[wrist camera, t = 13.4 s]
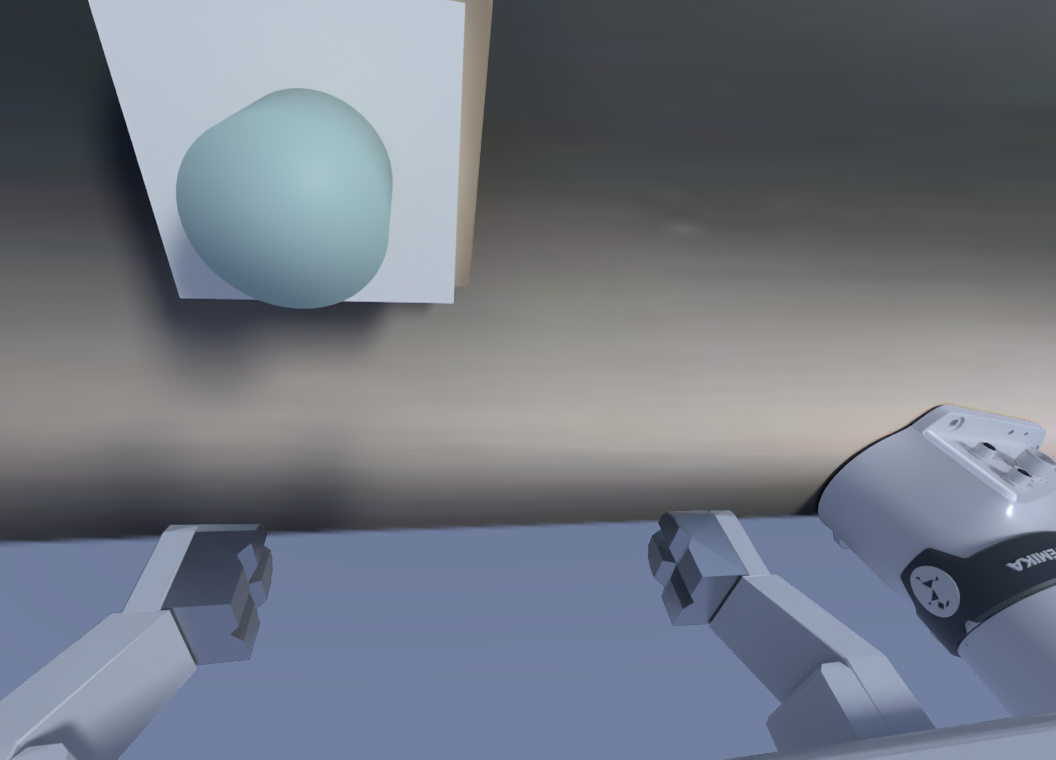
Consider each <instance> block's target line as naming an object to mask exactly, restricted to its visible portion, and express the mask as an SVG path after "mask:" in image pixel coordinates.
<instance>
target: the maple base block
mask: <svg viewBox="0 0 1056 760" xmlns="http://www.w3.org/2000/svg"><path fill="white" fill-rule="evenodd" d="M450 1H456V2H463V3H465V24H464V49H463V75H462V100H461V126H460V152H459V177H458V203H457V228H456V254H455V279H454V287H469V279H470V267H471V256H472V244H473V232H474V220H475V208H476V196H477V184H478V172H479V161H480V149H481V137H482V125H483V113H484V101H485V89H486V77H487V65H488V54H489V42H490V30H491V18H492V6H493V0H450Z"/></svg>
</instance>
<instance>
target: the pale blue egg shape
mask: <svg viewBox="0 0 1056 760" xmlns="http://www.w3.org/2000/svg"><path fill="white" fill-rule="evenodd" d="M392 187H393V176H392V168H391V162H390V159H389V156H388V153H387V150H386V148H385V146H384V144H383V142H382V140H381V138H380V137H379V135H378V133H377V132H376V130H375V129H374V128H373V127H372V125H371V124H370V123H369V122H368V121H367V120H366V119H365V117H364V116H363V115H362V114H360V113H359V112H358V111H357V110H356V109H354V108H353V107H352V106H350V105H349V104H347V103H346V102H344V101H342V100H340V99H338V98H336V97H335V96H333V95H330V94H327V93H324V92H321V91H317V90H313V89H305V88H289V89H283V90H278V91H275V92H272V93H270V94H267V95H265V96H264V97H262V98H260V99H259V100H257V101H255V102H253V103H252V104H250V105H248V106H247V107H245V108H243V109H242V110H240V111H238V112H236V113H235V114H233V115H231V116H230V117H228V118H226V119H225V120H223V121H221V122H219V123H218V124H216V125H214V126H213V127H211V128H209V129H208V130H206V131H205V132H204V133H203V134H202V135H200V136H199V137H198V138H197V139H196V140H195V141H194V143H193V144H192V145H191V146H190V148H189V149H188V151H187V152H186V154H185V156H184V158H183V160H182V162H181V165H180V168H179V171H178V176H177V182H176V202H177V208H178V213H179V217H180V220H181V223H182V226H183V229H184V231H185V233H186V235H187V237H188V239H189V241H190V243H191V244H192V246H193V248H194V249H195V251H196V252H197V253H198V255H199V256H200V257H201V259H202V260H203V261H204V262H205V263H206V264H207V265H208V266H209V267H210V269H211V270H212V271H213V272H215V273H216V274H217V275H218V276H219V277H220V278H222V279H223V280H224V281H225V282H227V283H228V284H230V285H231V286H233V287H234V288H235V289H237V290H239V291H241V292H243V293H244V294H246V295H248V296H250V297H253V298H255V299H257V300H260V301H263V302H266V303H269V304H272V305H276V306H281V307H286V308H296V309H312V308H321V307H326V306H330V305H334V304H336V303H339V302H342V301H344V300H346V299H348V298H350V297H352V296H354V295H355V294H357V293H358V292H359V291H361V290H362V289H363V288H364V287H365V286H366V285H367V284H368V283H369V282H370V281H371V280H372V279H373V278H374V276H375V275H376V274H377V272H378V270H379V268H380V267H381V265H382V263H383V260H384V258H385V255H386V251H387V247H388V241H389V228H390V214H391V201H392Z"/></svg>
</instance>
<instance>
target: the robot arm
mask: <svg viewBox="0 0 1056 760" xmlns="http://www.w3.org/2000/svg"><path fill="white" fill-rule="evenodd" d="M1045 434H1046V430H1045V429H1043V428H1042V427H1041V426H1040V425H1039V424H1037V423H1034V422H1029V421H1025V420H1020V419H1015V418H1010V417H1005V416H1000V415H995V414H990V413H985V412H980V411H975V410H970V409H965V408H960V407H955V406H950V405H943V406H940V407H938V408H936V409H934V410H933V411H931V412H929V413H928V414H926V415H925V416H924V417H922V418H921V419H919V420H918V421H917V422H915V423H914V424H913V425H911V426H910V427H908V428H906V429H904V430H902V431H901V432H898V433H896V434H894V435H892V436H890V437H888V438H886V439H884V440H882V441H880V442H878V443H876V444H875V445H873V446H871V447H870V448H868V449H867V450H865V451H864V452H862V453H861V454H859V455H858V456H857V457H855V458H854V459H853V460H852V461H850V462H849V463H848V464H847V465H846V466H845V467H844V468H843V469H842V470H841V471H840V472H839V473H838V474H837V475H836V476H835V477H834V478H833V479H832V481H831V482H830V483H829V484H828V486H827V487H826V489H825V491H824V492H823V494H822V496H821V499H820V502H819V506H818V514H819V518H820V520H821V521H822V522H823V523H824V524H825V525H826V526H828V527H829V528H830V529H831V530H833V536H834V539H835V541H836V542H837V543H838V544H839V545H840V546H841V547H842V548H844V549H848V548H850V549H851V550H852V551H853V552H854V553H855V554H856V555H857V556H858V557H859V558H860V559H861V560H862V561H863V562H864V563H865V564H866V565H867V566H868V567H869V568H870V569H871V570H872V571H873V572H874V573H875V574H876V575H877V577H878V578H880V580H882V581H883V583H884V584H885V585H887V587H889V589H890V590H891V591H893V592H894V593H895V594H896V595H897V596H898V597H899V598H900V599H901V600H902V601H904V602H906V603H909V604H914V605H915V607H916V613H917V615H918V617H919V618H920V619H921V620H922V621H923V623H924V624H925V625H926V626H927V627H928V628H929V629H930V631H931V632H930V633H931V634H932V635H933V636H934V637H935V638H936V640H937V641H939V642H940V643H942V644H943V645H944V646H945V648H946V649H947V650H948V651H949V652H950V653H951V654H952V655H954V656H957V657H961V658H962V659H963V660H964V661H965V662H966V664H968V666H969V667H970V668H971V669H972V671H973V672H974V673H975V674H976V675H977V676H978V677H979V679H980V680H981V681H982V682H983V683H984V685H985V686H986V687H987V688H988V689H989V690H990V692H991V693H992V694H993V695H994V696H995V697H996V698H997V700H998V701H999V702H1000V703H1001V704H1002V705H1003V707H1004V708H1005V709H1006V710H1007V711H1008V712H1009V714H1010V715H1011V716H1012V717H1013V718H1006V719H999V720H992V721H985V722H978V723H971V724H965V725H958V726H951V727H944V728H937V729H936V728H935V726H934V725H933V724H932V722H931V721H930V719H929V718H928V716H927V715H926V714H925V712H924V711H923V709H922V708H921V706H920V705H919V704H918V702H917V701H916V699H915V698H914V696H913V695H912V693H911V692H910V691H909V689H908V688H907V686H906V685H905V684H904V682H903V681H902V679H901V678H900V676H899V675H898V673H897V672H896V671H895V669H894V668H893V666H892V665H891V663H890V662H889V661H888V659H887V658H886V656H885V655H884V654H882V653H881V652H880V651H878V650H877V649H876V648H874V647H873V646H872V645H870V644H869V643H868V642H866V641H865V640H864V639H862V638H861V637H859V636H858V635H857V634H856V633H854V632H853V631H852V630H850V629H849V628H848V627H846V626H845V625H844V624H842V623H841V622H840V621H838V620H837V619H836V618H834V617H833V616H831V615H830V614H829V613H828V612H826V611H825V610H824V609H822V608H821V607H820V606H818V605H817V604H816V603H814V602H813V601H812V600H810V599H809V598H808V597H806V596H805V595H804V594H802V593H801V592H800V591H798V590H797V589H796V588H794V587H793V586H792V585H790V584H789V583H788V582H786V581H785V580H784V579H783V578H781V577H780V576H779V575H777V574H770V572H769V571H768V569H767V567H766V566H765V564H764V563H763V561H762V559H761V558H760V556H759V554H758V553H757V551H756V549H755V548H754V546H753V544H752V543H751V541H750V539H749V538H748V536H747V534H746V533H745V531H744V530H743V528H742V526H741V524H740V523H739V521H738V519H737V518H736V516H735V515H734V514H733V513H732V512H731V511H729V510H719V511H705V510H703V511H680V512H666V513H665V514H663V515H662V516H661V518H660V520H659V522H658V523H659V525H660V528H661V530H659V531H658V532H657V533H655V534H654V535H652V538H651V540H650V543H649V545H648V559H649V564H650V568H651V571H652V574H653V576H654V578H655V579H656V580H657V581H658V582H659V583H660V584H662V585H663V586H664V589H663V593H662V600H663V602H664V604H665V607H666V609H667V612H668V615H669V617H670V619H671V622H672V624H673V626H680V625H681V626H682V625H700V624H710V625H709V627H710V628H711V629H712V630H713V631H714V633H715V634H716V635H717V636H718V637H719V638H720V639H721V640H722V641H723V642H724V643H725V644H726V645H727V646H728V647H729V648H730V649H731V650H732V652H733V653H734V654H735V655H737V657H738V658H739V659H740V660H741V661H742V662H743V663H744V664H745V665H746V666H747V667H748V668H749V670H751V672H752V673H753V674H754V675H755V676H756V677H757V678H758V679H759V680H760V681H761V682H762V683H763V684H764V685H765V686H766V687H767V688H768V690H769V691H770V692H771V693H772V694H773V695H774V696H775V697H776V698H777V699H778V700H779V701H780V702H781V703H782V704H781V705H780V706H779V707H778V708H777V709H776V710H775V711H774V712H773V713H772V714H771V715H770V716H769V717H768V720H767V722H766V726H767V728H768V730H769V732H770V734H771V737H772V739H773V741H774V743H775V745H776V747H777V750H778V752H773V753H765V754H758V755H751V756H744V757H738V758H731V759H724V760H1056V471H1055V469H1056V462H1055V461H1054V460H1053V459H1051V458H1050V457H1049V456H1047V455H1045V454H1044V453H1042V452H1040V451H1038V449H1039V447H1040V446H1041V444H1042V442H1043V440H1044V437H1045ZM266 536H267V534H266V531H265V527H264V524H195V525H170V526H169V527H168V528H167V529H166V530H165V531H164V532H163V533H162V534H161V536H160V538H159V540H158V542H157V544H156V546H155V548H154V550H153V552H152V554H151V556H150V558H149V560H148V562H147V564H146V566H145V568H144V570H143V572H142V573H141V575H140V577H139V579H138V581H137V583H136V585H135V587H134V589H133V591H132V593H131V595H130V597H129V599H128V601H127V603H126V604H125V606H124V609H123V610H122V612H120V613H119V612H118V613H111V614H110V615H108V616H107V617H106V618H105V619H103V620H102V621H101V622H99V623H98V624H97V625H96V626H95V627H93V628H92V629H91V630H89V631H88V632H87V633H86V634H84V635H83V636H82V637H81V638H79V639H78V640H77V641H76V642H74V643H73V644H72V645H70V646H69V647H68V648H67V649H66V650H64V651H63V652H62V653H60V654H59V655H58V656H57V657H56V658H54V659H53V660H52V661H51V662H49V663H48V664H47V665H45V666H44V667H43V668H41V669H40V670H39V671H38V672H37V673H35V674H34V675H33V676H32V677H30V678H29V679H28V680H26V681H25V682H24V683H23V684H21V685H20V686H19V687H17V688H16V689H15V690H14V691H12V692H11V693H10V694H9V695H8V696H6V697H5V698H4V699H2V700H1V701H0V760H117V759H118V758H119V757H120V756H121V755H122V754H123V753H124V751H125V750H126V749H127V748H128V747H129V745H130V744H131V743H132V742H133V741H134V740H135V739H136V738H137V737H138V735H139V734H140V733H141V732H142V731H143V730H144V728H145V727H146V726H147V725H148V724H149V723H150V722H151V721H152V719H153V718H154V717H155V716H156V715H157V714H158V713H159V711H160V710H161V709H162V708H163V707H164V706H165V705H166V703H167V702H168V701H169V700H170V699H171V698H172V696H173V695H174V694H175V693H176V692H177V691H178V690H179V689H180V687H181V686H182V685H183V684H184V683H185V682H186V681H187V679H188V678H189V677H190V676H191V675H192V674H193V672H194V671H195V670H196V669H197V667H196V665H205V664H214V663H224V662H233V661H242V660H250V657H251V653H252V650H253V647H254V643H255V640H256V636H257V632H258V629H259V625H260V621H259V617H258V614H257V609H258V608H259V607H260V606H261V605H262V604H263V603H264V602H265V601H266V600H267V596H268V592H269V589H270V584H271V576H272V555H271V551H270V549H268V548H267V547H265V546H264V543H265V540H266Z"/></svg>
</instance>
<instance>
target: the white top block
mask: <svg viewBox="0 0 1056 760" xmlns="http://www.w3.org/2000/svg"><path fill="white" fill-rule="evenodd" d="M88 1H89V4H90V8H91V11H92V14H93V17H94V21H95V24H96V27H97V30H98V34H99V37H100V40H101V43H102V47H103V50H104V53H105V56H106V60H107V63H108V66H109V69H110V73H111V76H112V79H113V82H114V86H115V89H116V92H117V95H118V99H119V102H120V105H121V108H122V112H123V115H124V118H125V121H126V125H127V128H128V131H129V134H130V138H131V141H132V144H133V147H134V151H135V154H136V157H137V160H138V164H139V167H140V170H141V173H142V177H143V180H144V183H145V186H146V190H147V193H148V196H149V199H150V203H151V206H152V209H153V212H154V216H155V219H156V222H157V225H158V229H159V232H160V235H161V238H162V242H163V245H164V248H165V251H166V255H167V258H168V261H169V264H170V268H171V271H172V274H173V277H174V281H175V284H176V287H177V290H178V294H179V297H180V298H195V299H249V300H257V299H255V298H253V297H250V296H248V295H246V294H244V293H243V292H241V291H239V290H237V289H235V288H234V287H233V286H231V285H230V284H228V283H227V282H225V281H224V280H223V279H222V278H220V277H219V276H218V275H217V274H216V273H215V272H213V271H212V270H211V269H210V267H209V266H208V265H207V264H206V263H205V262H204V261H203V260H202V259H201V257H200V256H199V255H198V253H197V252H196V251H195V249H194V248H193V246H192V244H191V243H190V241H189V239H188V237H187V235H186V233H185V231H184V229H183V226H182V223H181V220H180V217H179V213H178V208H177V202H176V182H177V176H178V171H179V168H180V165H181V162H182V160H183V158H184V156H185V154H186V152H187V151H188V149H189V148H190V146H191V145H192V144H193V143H194V141H195V140H196V139H197V138H198V137H199V136H200V135H202V134H203V133H204V132H205V131H206V130H208V129H209V128H211V127H213V126H214V125H216V124H218V123H219V122H221V121H223V120H225V119H226V118H228V117H230V116H231V115H233V114H235V113H236V112H238V111H240V110H242V109H243V108H245V107H247V106H248V105H250V104H252V103H253V102H255V101H257V100H259V99H260V98H262V97H264V96H265V95H267V94H270V93H272V92H275V91H278V90H283V89H289V88H305V89H313V90H317V91H321V92H324V93H327V94H330V95H333V96H335V97H336V98H338V99H340V100H342V101H344V102H346V103H347V104H349V105H350V106H352V107H353V108H354V109H356V110H357V111H358V112H359V113H360V114H362V115H363V116H364V117H365V119H366V120H367V121H368V122H369V123H370V124H371V125H372V127H373V128H374V129H375V130H376V132H377V133H378V135H379V137H380V138H381V140H382V142H383V144H384V146H385V148H386V150H387V153H388V156H389V159H390V162H391V168H392V176H393V187H392V201H391V214H390V228H389V241H388V247H387V251H386V255H385V258H384V260H383V263H382V265H381V267H380V268H379V270H378V272H377V274H376V275H375V276H374V278H373V279H372V280H371V281H370V282H369V283H368V284H367V285H366V286H365V287H364V288H363V289H362V290H361V291H359V292H358V293H357V294H355V295H354V296H352V297H350V298H348V299H346V300H344V301H356V302H410V303H454V279H455V254H456V228H457V203H458V177H459V152H460V126H461V100H462V75H463V49H464V24H465V3H463V2H456V1H450V0H88Z"/></svg>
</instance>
